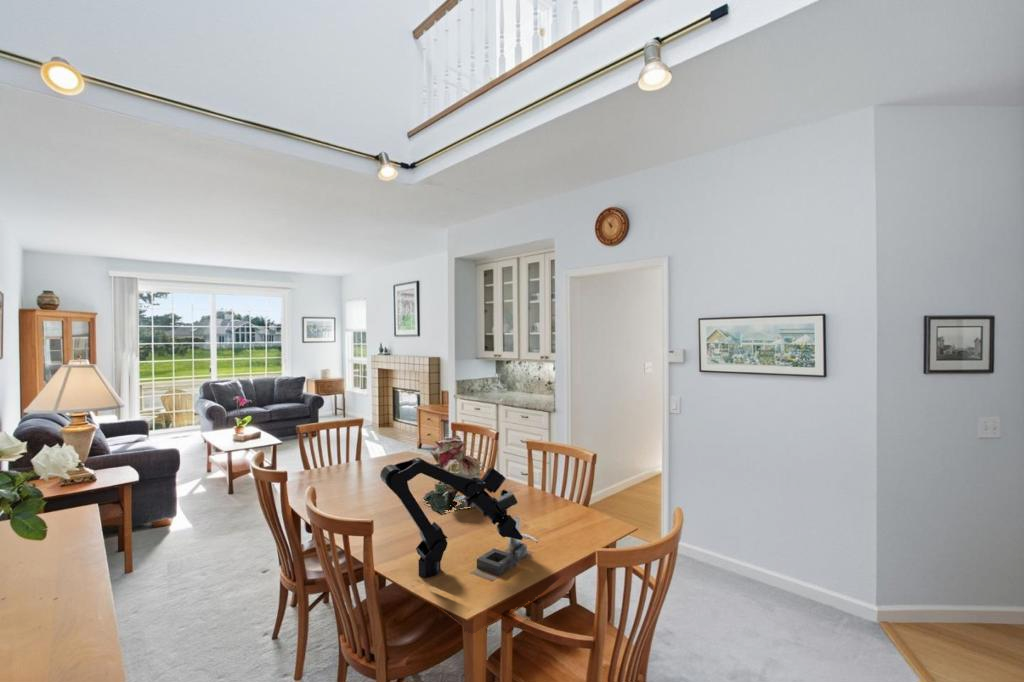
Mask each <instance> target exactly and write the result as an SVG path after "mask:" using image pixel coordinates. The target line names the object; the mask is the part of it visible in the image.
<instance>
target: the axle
mask: <svg viewBox="0 0 1024 682" xmlns="http://www.w3.org/2000/svg"><path fill="white" fill-rule="evenodd" d="M512 517H513V518H514V520H515V521H516V528H517V530H518V531H519V533H520V532H521V518H520V517H518V516H512ZM507 538H508V539H507V540H508V541H507V543H508V546H507V549H508V553H510V554H513V555H515V551H516V550H517V549H519V548H520V542H521V540H518V539H514V538H510V537H507Z"/></svg>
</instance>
